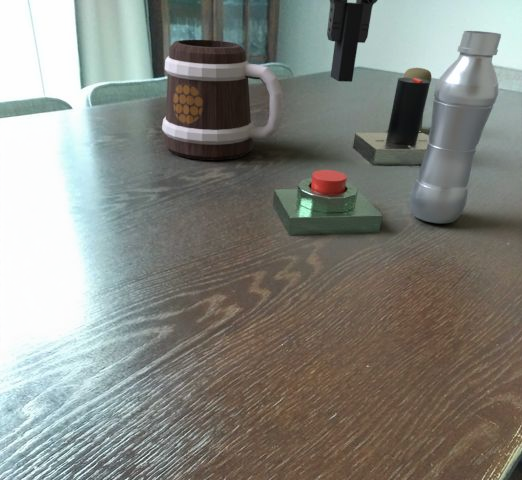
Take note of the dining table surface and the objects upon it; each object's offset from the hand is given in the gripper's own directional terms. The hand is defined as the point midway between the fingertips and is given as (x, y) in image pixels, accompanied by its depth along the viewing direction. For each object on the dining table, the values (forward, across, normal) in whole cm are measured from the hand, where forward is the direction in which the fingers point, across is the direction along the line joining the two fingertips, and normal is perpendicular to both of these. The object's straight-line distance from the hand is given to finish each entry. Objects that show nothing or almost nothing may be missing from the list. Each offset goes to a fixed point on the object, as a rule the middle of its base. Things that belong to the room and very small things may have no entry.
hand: (341, 78), depth 51 cm
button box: (+15, 0, 0) cm, 15 cm away
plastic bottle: (+15, +14, -1) cm, 21 cm away
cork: (+15, +30, +43) cm, 55 cm away
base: (+15, +21, +26) cm, 37 cm away
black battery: (+13, +21, +26) cm, 36 cm away
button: (+12, 0, 0) cm, 12 cm away
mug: (+16, -9, +29) cm, 34 cm away
